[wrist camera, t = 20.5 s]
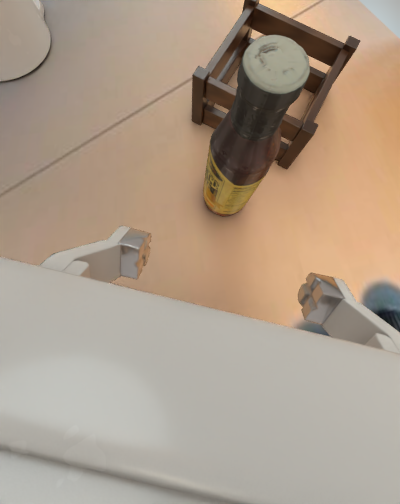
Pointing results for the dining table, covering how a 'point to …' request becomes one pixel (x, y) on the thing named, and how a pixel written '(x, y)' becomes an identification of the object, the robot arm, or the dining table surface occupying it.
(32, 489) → the robot arm
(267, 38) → the sauce bottle
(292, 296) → the dining table surface
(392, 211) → the dining table surface
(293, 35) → the crate
